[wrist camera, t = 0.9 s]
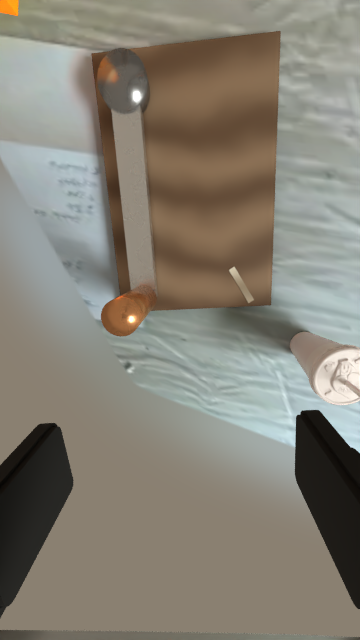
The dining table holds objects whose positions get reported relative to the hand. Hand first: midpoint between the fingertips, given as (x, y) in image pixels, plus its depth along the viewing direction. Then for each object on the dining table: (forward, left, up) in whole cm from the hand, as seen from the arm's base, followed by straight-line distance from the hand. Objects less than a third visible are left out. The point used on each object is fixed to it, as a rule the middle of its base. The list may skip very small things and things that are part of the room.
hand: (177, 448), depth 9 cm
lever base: (-15, +1, -25) cm, 29 cm away
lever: (-14, -5, -23) cm, 27 cm away
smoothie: (+5, +16, -25) cm, 30 cm away
